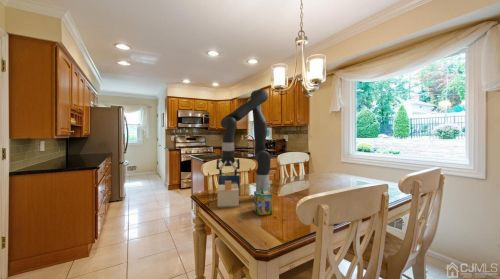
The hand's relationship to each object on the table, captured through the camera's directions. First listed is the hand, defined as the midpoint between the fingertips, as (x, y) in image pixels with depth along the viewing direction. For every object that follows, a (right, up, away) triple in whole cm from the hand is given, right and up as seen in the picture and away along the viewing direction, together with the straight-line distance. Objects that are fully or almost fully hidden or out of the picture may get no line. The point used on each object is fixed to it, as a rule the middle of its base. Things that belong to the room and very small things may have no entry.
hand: (228, 175), depth 133 cm
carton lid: (-1, -9, +6) cm, 11 cm away
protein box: (-2, -19, +27) cm, 33 cm away
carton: (-1, -19, +7) cm, 20 cm away
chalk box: (+21, -20, -8) cm, 30 cm away
